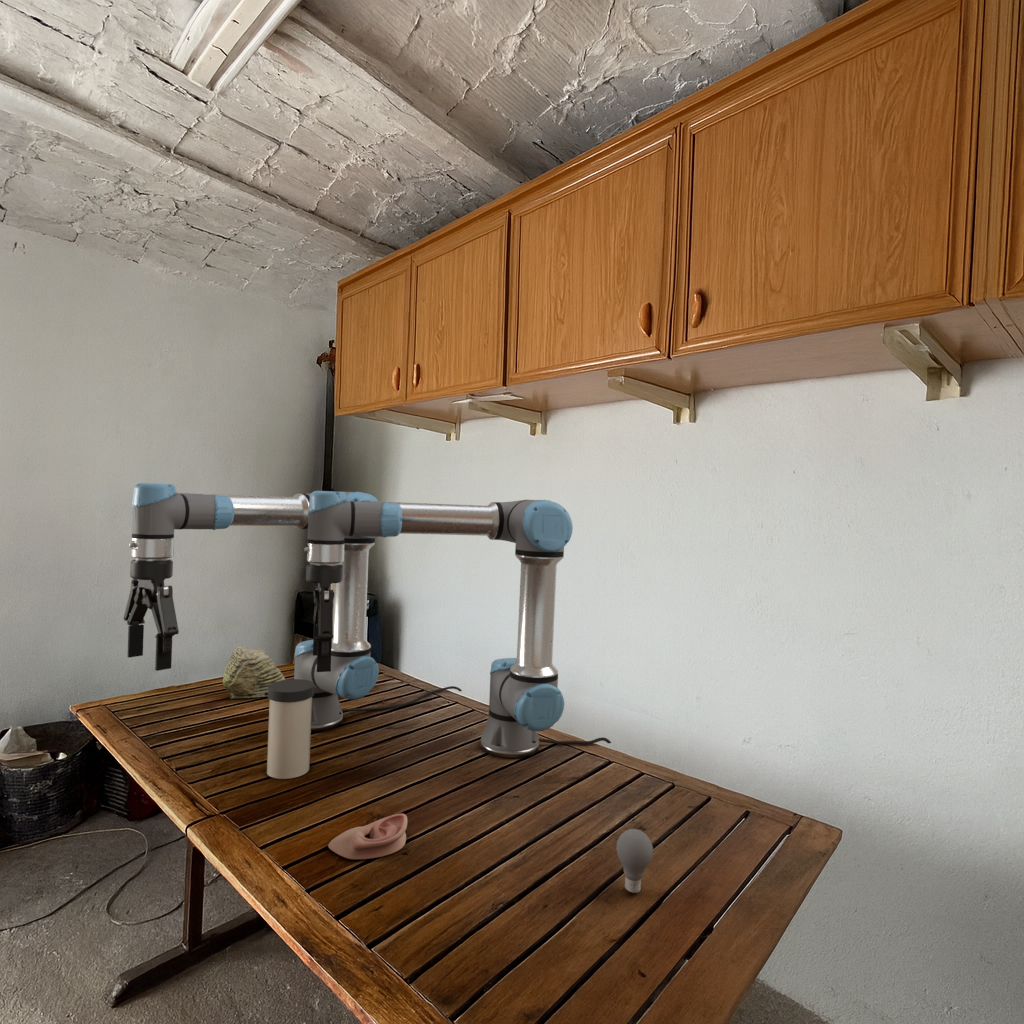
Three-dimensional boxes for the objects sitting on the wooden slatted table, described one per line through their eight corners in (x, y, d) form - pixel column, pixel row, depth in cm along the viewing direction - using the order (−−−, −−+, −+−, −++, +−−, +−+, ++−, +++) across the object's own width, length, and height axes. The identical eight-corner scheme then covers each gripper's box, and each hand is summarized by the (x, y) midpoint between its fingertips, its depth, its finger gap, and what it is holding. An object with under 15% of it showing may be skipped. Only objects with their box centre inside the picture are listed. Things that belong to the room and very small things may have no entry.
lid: (263, 691, 147) (263, 682, 147) (307, 686, 153) (308, 677, 152) (272, 704, 139) (273, 694, 139) (319, 698, 144) (319, 688, 144)
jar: (262, 766, 147) (265, 684, 147) (303, 758, 152) (306, 679, 152) (271, 782, 139) (274, 695, 139) (314, 774, 144) (317, 690, 144)
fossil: (218, 695, 195) (220, 647, 195) (278, 685, 208) (279, 640, 207) (228, 703, 189) (230, 653, 188) (289, 692, 201) (290, 645, 201)
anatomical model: (320, 832, 112) (349, 802, 123) (319, 854, 112) (349, 822, 123) (391, 843, 109) (414, 812, 121) (390, 866, 109) (413, 832, 121)
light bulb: (610, 879, 108) (613, 822, 108) (644, 879, 109) (647, 822, 109) (619, 902, 102) (622, 840, 102) (655, 901, 103) (658, 840, 103)
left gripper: (108, 554, 134) (104, 654, 134) (159, 565, 118) (155, 678, 119) (146, 552, 140) (143, 648, 140) (199, 563, 124) (195, 671, 124)
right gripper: (303, 557, 145) (300, 649, 145) (309, 570, 121) (305, 680, 122) (337, 557, 147) (334, 648, 148) (349, 570, 124) (345, 678, 124)
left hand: (148, 662), depth 129 cm, fingers open, 13 cm apart
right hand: (321, 663), depth 135 cm, fingers open, 13 cm apart
